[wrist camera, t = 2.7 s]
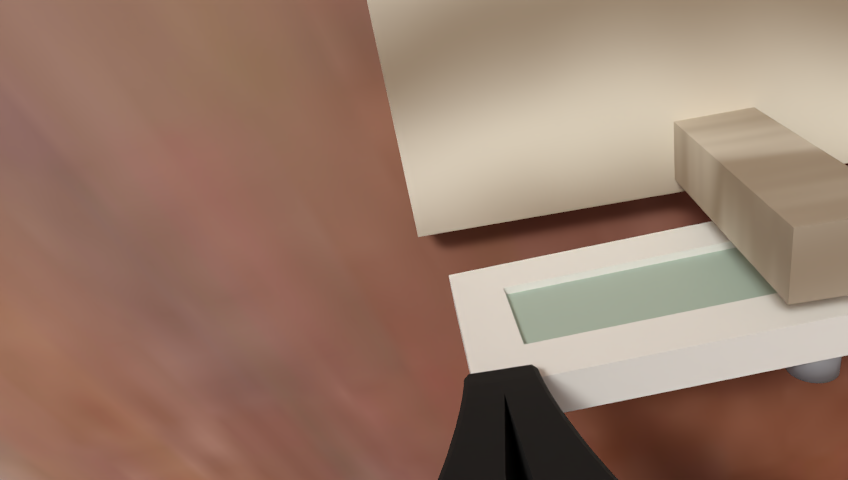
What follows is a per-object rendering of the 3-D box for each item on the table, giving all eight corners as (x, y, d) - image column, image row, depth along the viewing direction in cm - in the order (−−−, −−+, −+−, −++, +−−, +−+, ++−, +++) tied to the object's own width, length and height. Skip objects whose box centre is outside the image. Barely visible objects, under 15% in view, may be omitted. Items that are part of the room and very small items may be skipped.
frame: (984, 219, 17) (1171, 313, 13) (459, 326, 18) (486, 451, 14) (997, 162, 17) (1197, 243, 13) (448, 275, 17) (474, 390, 13)
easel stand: (993, 117, 18) (1311, 241, 12) (418, 218, 19) (418, 379, 13) (1078, -288, 14) (1638, -443, 8) (344, -128, 15) (289, -145, 9)
